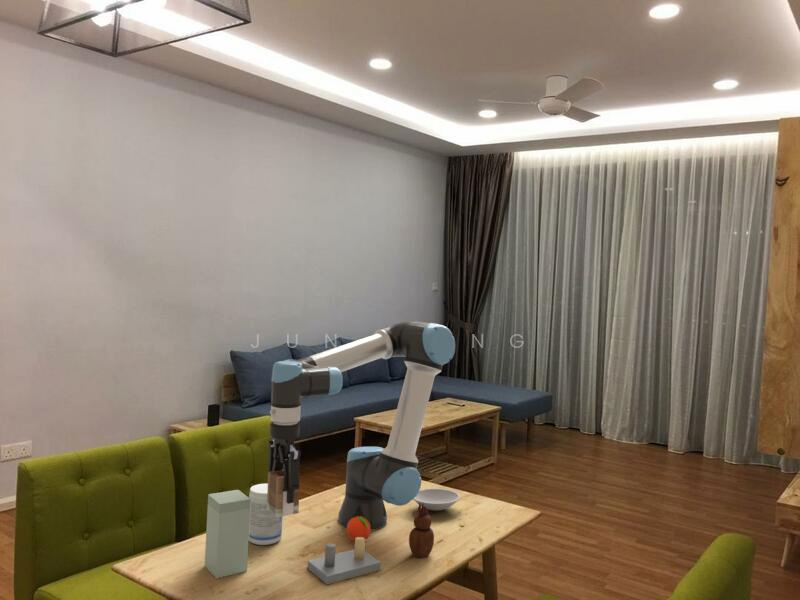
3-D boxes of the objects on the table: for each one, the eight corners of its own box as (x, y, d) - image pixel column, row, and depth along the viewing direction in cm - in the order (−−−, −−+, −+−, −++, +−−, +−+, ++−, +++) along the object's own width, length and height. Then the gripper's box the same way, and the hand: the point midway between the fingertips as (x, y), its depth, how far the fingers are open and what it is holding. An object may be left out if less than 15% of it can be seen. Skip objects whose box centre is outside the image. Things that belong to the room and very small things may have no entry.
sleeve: (287, 505, 168) (289, 468, 168) (298, 512, 163) (299, 474, 163) (266, 509, 165) (268, 471, 164) (277, 517, 160) (278, 478, 159)
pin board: (359, 555, 173) (361, 529, 173) (380, 569, 165) (381, 543, 165) (307, 568, 163) (308, 541, 163) (326, 584, 155) (328, 556, 155)
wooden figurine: (415, 561, 171) (418, 506, 171) (405, 552, 177) (408, 499, 176) (436, 557, 175) (439, 503, 174) (426, 549, 180) (429, 496, 179)
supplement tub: (286, 542, 178) (289, 491, 178) (254, 548, 173) (257, 495, 173) (273, 530, 187) (276, 481, 186) (242, 536, 181) (244, 485, 181)
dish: (441, 499, 222) (442, 485, 222) (469, 513, 210) (470, 498, 210) (401, 507, 212) (402, 492, 212) (427, 522, 200) (428, 506, 200)
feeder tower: (235, 558, 167) (239, 489, 166) (248, 570, 160) (251, 498, 160) (204, 565, 162) (208, 494, 161) (215, 578, 155) (219, 504, 155)
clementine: (377, 543, 182) (378, 518, 182) (358, 549, 177) (359, 523, 177) (360, 534, 188) (361, 510, 188) (341, 539, 183) (342, 514, 183)
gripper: (256, 415, 168) (253, 501, 169) (288, 431, 153) (285, 525, 154) (282, 413, 173) (278, 496, 174) (316, 428, 158) (312, 519, 158)
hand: (281, 510), depth 164 cm, fingers closed on sleeve, 6 cm apart
